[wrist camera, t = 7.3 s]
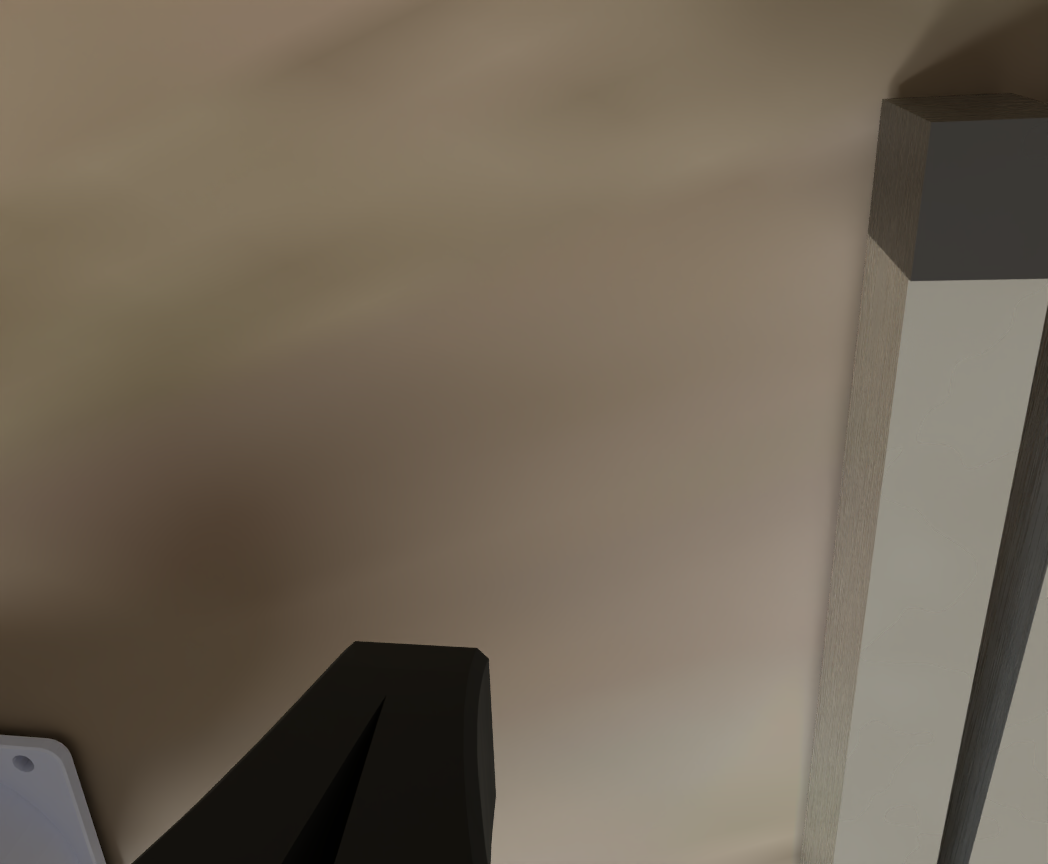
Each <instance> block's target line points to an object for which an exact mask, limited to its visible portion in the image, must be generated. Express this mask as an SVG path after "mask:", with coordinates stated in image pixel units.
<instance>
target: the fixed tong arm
mask: <svg viewBox="0 0 1048 864" xmlns="http://www.w3.org/2000/svg"><path fill="white" fill-rule="evenodd" d="M937 864H1048V306H1047V311H1046V316H1045V321H1044V326H1043V331H1042V336H1041V341H1040V346H1039V351H1038V356H1037V361H1036V366H1035V371H1034V376H1033V381H1032V386H1031V391H1030V397H1029V402H1028V407H1027V412H1026V417H1025V422H1024V427H1023V432H1022V437H1021V442H1020V447H1019V452H1018V457H1017V462H1016V467H1015V472H1014V477H1013V482H1012V487H1011V492H1010V497H1009V502H1008V507H1007V512H1006V517H1005V522H1004V527H1003V532H1002V538H1001V543H1000V548H999V553H998V558H997V563H996V568H995V573H994V578H993V583H992V588H991V593H990V598H989V603H988V608H987V613H986V618H985V623H984V628H983V633H982V638H981V643H980V648H979V653H978V658H977V663H976V668H975V674H974V679H973V684H972V689H971V694H970V699H969V704H968V709H967V714H966V719H965V724H964V729H963V734H962V739H961V744H960V749H959V754H958V759H957V764H956V769H955V774H954V779H953V784H952V789H951V794H950V799H949V804H948V809H947V815H946V820H945V825H944V830H943V835H942V840H941V845H940V850H939V855H938V860H937Z"/></svg>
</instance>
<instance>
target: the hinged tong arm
mask: <svg viewBox="0 0 1048 864" xmlns="http://www.w3.org/2000/svg"><path fill="white" fill-rule="evenodd" d="M1047 306H1048V104H1046V103H1043V102H1039V101H1036V100H1033V99H1029V98H1026V97H1022V96H1019V95H1016V94H1012V93H1008V94H985V95H962V96H939V97H916V98H893V99H882V107H881V116H880V126H879V135H878V144H877V154H876V163H875V172H874V182H873V191H872V200H871V210H870V219H869V228H868V238H867V247H866V256H865V266H864V275H863V284H862V294H861V303H860V312H859V322H858V331H857V340H856V350H855V359H854V368H853V378H852V387H851V396H850V406H849V415H848V424H847V434H846V443H845V452H844V462H843V471H842V480H841V490H840V499H839V508H838V518H837V527H836V536H835V546H834V555H833V564H832V574H831V583H830V592H829V602H828V611H827V620H826V630H825V639H824V648H823V658H822V667H821V676H820V686H819V695H818V704H817V714H816V723H815V732H814V742H813V751H812V760H811V770H810V779H809V788H808V798H807V807H806V816H805V826H804V835H803V844H802V854H801V863H800V864H937V860H938V855H939V850H940V845H941V840H942V835H943V830H944V825H945V820H946V815H947V809H948V804H949V799H950V794H951V789H952V784H953V779H954V774H955V769H956V764H957V759H958V754H959V749H960V744H961V739H962V734H963V729H964V724H965V719H966V714H967V709H968V704H969V699H970V694H971V689H972V684H973V679H974V674H975V668H976V663H977V658H978V653H979V648H980V643H981V638H982V633H983V628H984V623H985V618H986V613H987V608H988V603H989V598H990V593H991V588H992V583H993V578H994V573H995V568H996V563H997V558H998V553H999V548H1000V543H1001V538H1002V532H1003V527H1004V522H1005V517H1006V512H1007V507H1008V502H1009V497H1010V492H1011V487H1012V482H1013V477H1014V472H1015V467H1016V462H1017V457H1018V452H1019V447H1020V442H1021V437H1022V432H1023V427H1024V422H1025V417H1026V412H1027V407H1028V402H1029V397H1030V391H1031V386H1032V381H1033V376H1034V371H1035V366H1036V361H1037V356H1038V351H1039V346H1040V341H1041V336H1042V331H1043V326H1044V321H1045V316H1046V311H1047Z"/></svg>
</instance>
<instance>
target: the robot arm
mask: <svg viewBox="0 0 1048 864" xmlns="http://www.w3.org/2000/svg"><path fill="white" fill-rule="evenodd" d="M495 799H496V788H495V769H494V750H493V731H492V712H491V693H490V674H489V659H488V658H487V657H486V656H485V655H484V654H483V653H482V652H481V651H480V650H479V649H478V648H467V647H449V646H431V645H413V644H395V643H377V642H359V641H355V642H354V643H353V644H351V645H350V646H349V647H348V648H347V649H346V650H345V651H344V652H343V653H342V654H341V655H340V656H339V657H338V658H337V659H336V660H335V661H334V662H333V663H332V664H331V665H330V667H329V668H328V669H327V670H326V671H325V672H324V673H323V674H322V675H321V676H320V677H319V678H318V679H317V680H316V682H315V683H314V684H313V685H312V686H311V687H310V688H309V689H308V690H307V691H306V692H305V693H304V694H303V695H302V697H301V698H300V699H299V700H298V701H297V702H296V703H295V704H294V705H293V706H292V707H291V708H290V709H289V710H288V711H287V712H286V713H285V715H284V716H283V717H282V718H281V719H280V720H279V721H278V722H277V723H276V724H275V725H274V726H273V727H272V728H271V729H270V730H269V731H268V732H267V733H266V734H265V735H264V736H263V738H262V739H261V740H260V741H259V742H258V743H257V744H256V745H255V746H254V747H253V748H252V749H251V750H250V751H249V752H248V753H247V754H246V755H245V756H244V757H243V758H242V759H241V760H240V761H239V762H238V763H237V764H236V765H235V766H234V767H233V768H232V769H231V770H230V771H229V772H228V773H227V774H226V775H225V776H224V777H223V778H222V779H221V780H220V781H219V782H218V783H217V784H216V785H215V786H214V787H213V788H212V789H211V790H210V791H209V792H208V793H207V794H206V795H205V796H204V797H203V798H202V799H201V800H200V801H199V802H198V803H197V804H196V805H194V806H193V807H192V808H191V809H190V810H189V811H188V812H187V813H186V814H185V815H184V816H183V817H182V818H181V819H180V820H179V821H178V822H176V823H175V824H174V825H173V826H172V827H171V828H170V829H169V830H168V831H167V832H166V833H164V834H163V835H162V836H161V837H160V838H159V839H158V840H157V841H156V842H155V843H154V844H152V845H151V846H150V847H149V848H148V849H147V850H146V851H145V852H144V853H143V854H142V855H140V856H139V857H138V858H137V859H136V860H135V861H134V862H133V863H132V864H490V863H491V842H492V829H493V819H494V809H495ZM0 864H106V862H105V859H104V856H103V853H102V850H101V846H100V843H99V840H98V837H97V834H96V831H95V828H94V825H93V821H92V818H91V815H90V812H89V809H88V806H87V803H86V800H85V797H84V793H83V790H82V787H81V784H80V781H79V778H78V775H77V772H76V768H75V765H74V762H73V759H72V756H71V754H70V752H69V750H68V748H67V747H66V746H64V745H63V744H62V743H60V742H59V741H57V740H54V739H49V738H38V737H24V736H11V735H0Z"/></svg>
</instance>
